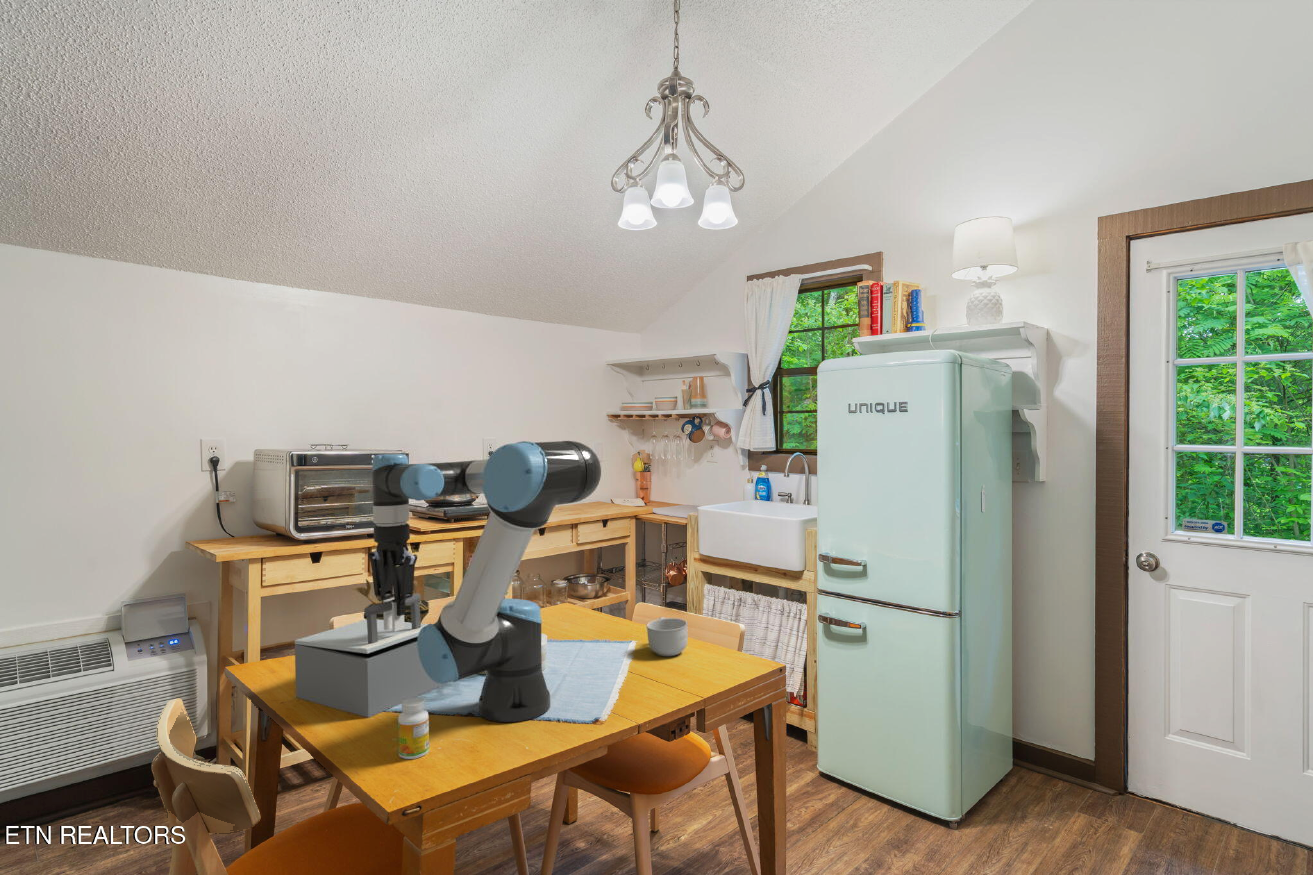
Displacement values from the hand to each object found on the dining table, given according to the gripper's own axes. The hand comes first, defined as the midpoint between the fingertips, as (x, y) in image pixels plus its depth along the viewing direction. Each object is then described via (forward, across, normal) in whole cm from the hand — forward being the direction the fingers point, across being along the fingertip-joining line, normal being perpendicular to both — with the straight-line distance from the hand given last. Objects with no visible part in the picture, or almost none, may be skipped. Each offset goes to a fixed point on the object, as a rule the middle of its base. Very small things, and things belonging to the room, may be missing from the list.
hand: (394, 628), depth 159 cm
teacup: (+16, -38, -57) cm, 71 cm away
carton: (+15, +9, 0) cm, 18 cm away
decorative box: (+16, +33, -27) cm, 45 cm away
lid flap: (+3, +9, 0) cm, 9 cm away
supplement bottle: (+16, -24, +17) cm, 34 cm away
